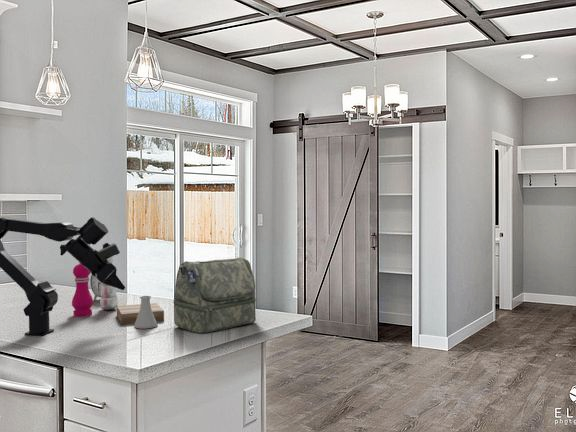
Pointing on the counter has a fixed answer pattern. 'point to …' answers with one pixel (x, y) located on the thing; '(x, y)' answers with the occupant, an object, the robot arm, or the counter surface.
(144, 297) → the flask
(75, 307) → the pepper mill
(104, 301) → the plastic bottle
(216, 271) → the lunch bag
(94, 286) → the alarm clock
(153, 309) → the board
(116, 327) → the counter surface
